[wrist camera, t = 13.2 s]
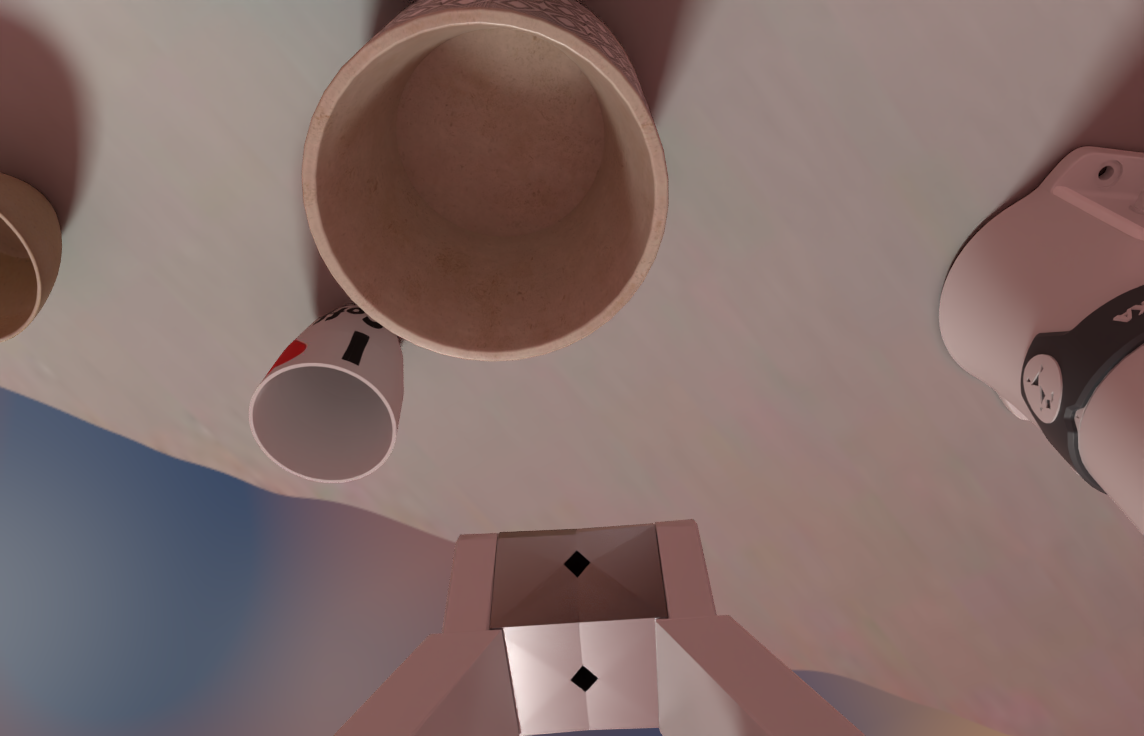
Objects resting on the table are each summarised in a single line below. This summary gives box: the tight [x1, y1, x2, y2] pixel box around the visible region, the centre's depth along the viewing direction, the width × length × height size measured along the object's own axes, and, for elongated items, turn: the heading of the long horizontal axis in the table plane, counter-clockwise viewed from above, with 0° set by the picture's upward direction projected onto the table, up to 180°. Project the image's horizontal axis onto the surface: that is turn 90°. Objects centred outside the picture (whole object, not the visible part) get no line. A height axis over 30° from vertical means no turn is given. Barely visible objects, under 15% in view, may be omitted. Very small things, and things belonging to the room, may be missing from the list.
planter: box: [302, 0, 668, 361], centre depth 43 cm, size 16×16×13 cm
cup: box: [249, 305, 404, 483], centre depth 51 cm, size 8×8×10 cm
